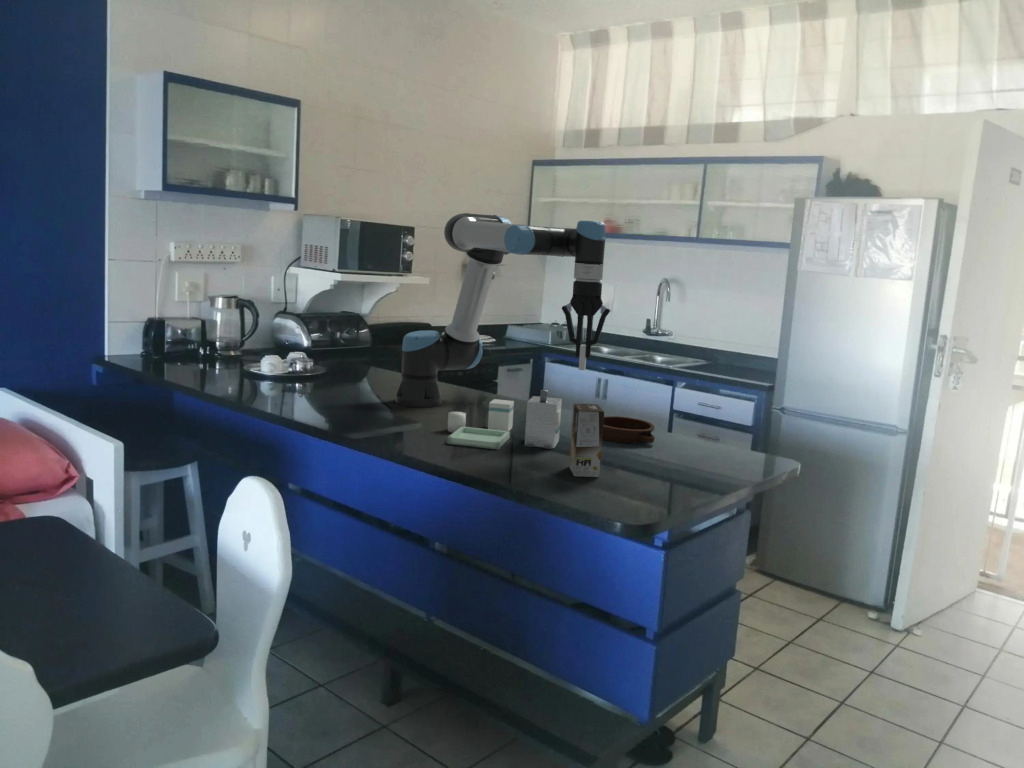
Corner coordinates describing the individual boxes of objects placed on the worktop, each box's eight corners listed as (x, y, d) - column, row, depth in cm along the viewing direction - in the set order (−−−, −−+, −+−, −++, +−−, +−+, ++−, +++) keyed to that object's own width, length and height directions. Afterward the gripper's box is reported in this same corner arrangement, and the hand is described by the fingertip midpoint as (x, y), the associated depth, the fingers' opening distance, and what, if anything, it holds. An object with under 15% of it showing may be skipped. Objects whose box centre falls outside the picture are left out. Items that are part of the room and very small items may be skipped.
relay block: (487, 429, 239) (489, 402, 238) (492, 425, 245) (493, 399, 243) (508, 432, 238) (509, 404, 236) (512, 427, 244) (514, 401, 242)
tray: (447, 443, 220) (447, 437, 220) (461, 432, 233) (461, 426, 233) (498, 449, 217) (498, 442, 217) (509, 437, 231) (510, 431, 230)
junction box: (523, 446, 222) (527, 391, 220) (531, 437, 233) (534, 384, 230) (554, 449, 221) (558, 394, 218) (560, 440, 231) (564, 387, 229)
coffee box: (600, 477, 197) (605, 411, 194) (573, 476, 196) (578, 410, 193) (593, 467, 206) (598, 403, 203) (567, 466, 205) (572, 402, 202)
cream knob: (445, 431, 234) (446, 414, 233) (450, 427, 239) (451, 411, 238) (462, 433, 233) (463, 416, 232) (467, 429, 238) (468, 412, 237)
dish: (631, 451, 225) (633, 433, 224) (572, 434, 240) (574, 417, 240) (671, 443, 236) (672, 426, 235) (612, 427, 252) (613, 411, 251)
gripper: (561, 279, 215) (555, 369, 219) (611, 282, 212) (604, 373, 216) (565, 278, 222) (560, 365, 226) (614, 281, 220) (607, 369, 224)
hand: (582, 369), depth 221 cm, fingers closed
